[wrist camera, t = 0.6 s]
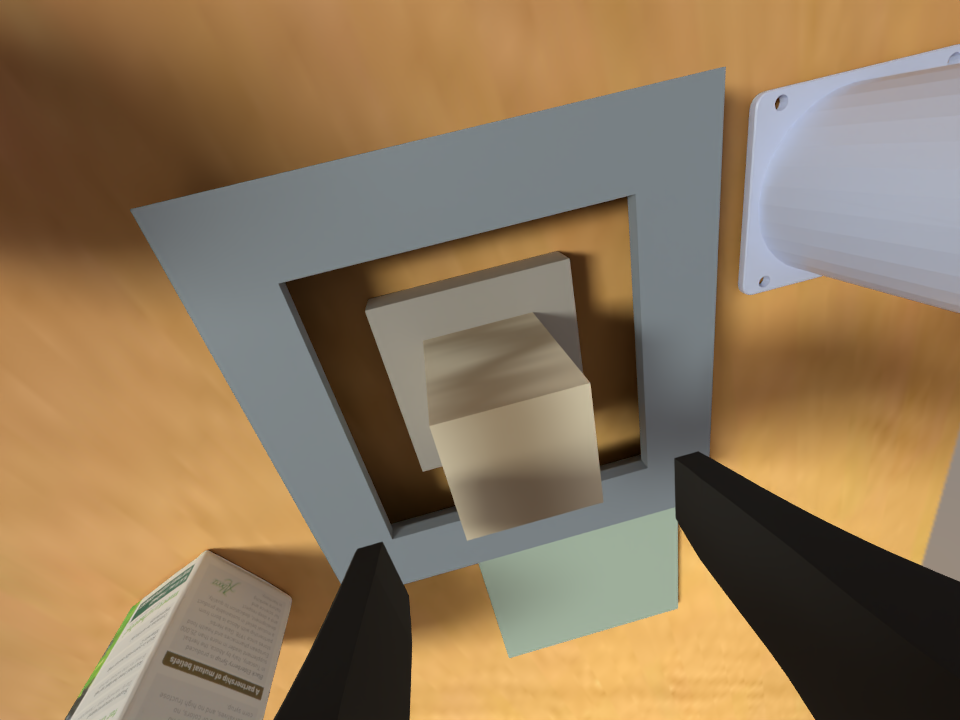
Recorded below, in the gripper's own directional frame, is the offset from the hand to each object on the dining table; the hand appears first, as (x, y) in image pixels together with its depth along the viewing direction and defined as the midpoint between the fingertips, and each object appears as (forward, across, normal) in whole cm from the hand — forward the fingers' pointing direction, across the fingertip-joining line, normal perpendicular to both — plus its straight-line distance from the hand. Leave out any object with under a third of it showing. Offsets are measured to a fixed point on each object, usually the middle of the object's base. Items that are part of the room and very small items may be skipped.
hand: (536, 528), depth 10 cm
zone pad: (+10, -3, +17) cm, 20 cm away
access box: (+10, 0, 0) cm, 10 cm away
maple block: (+8, 0, 0) cm, 8 cm away
